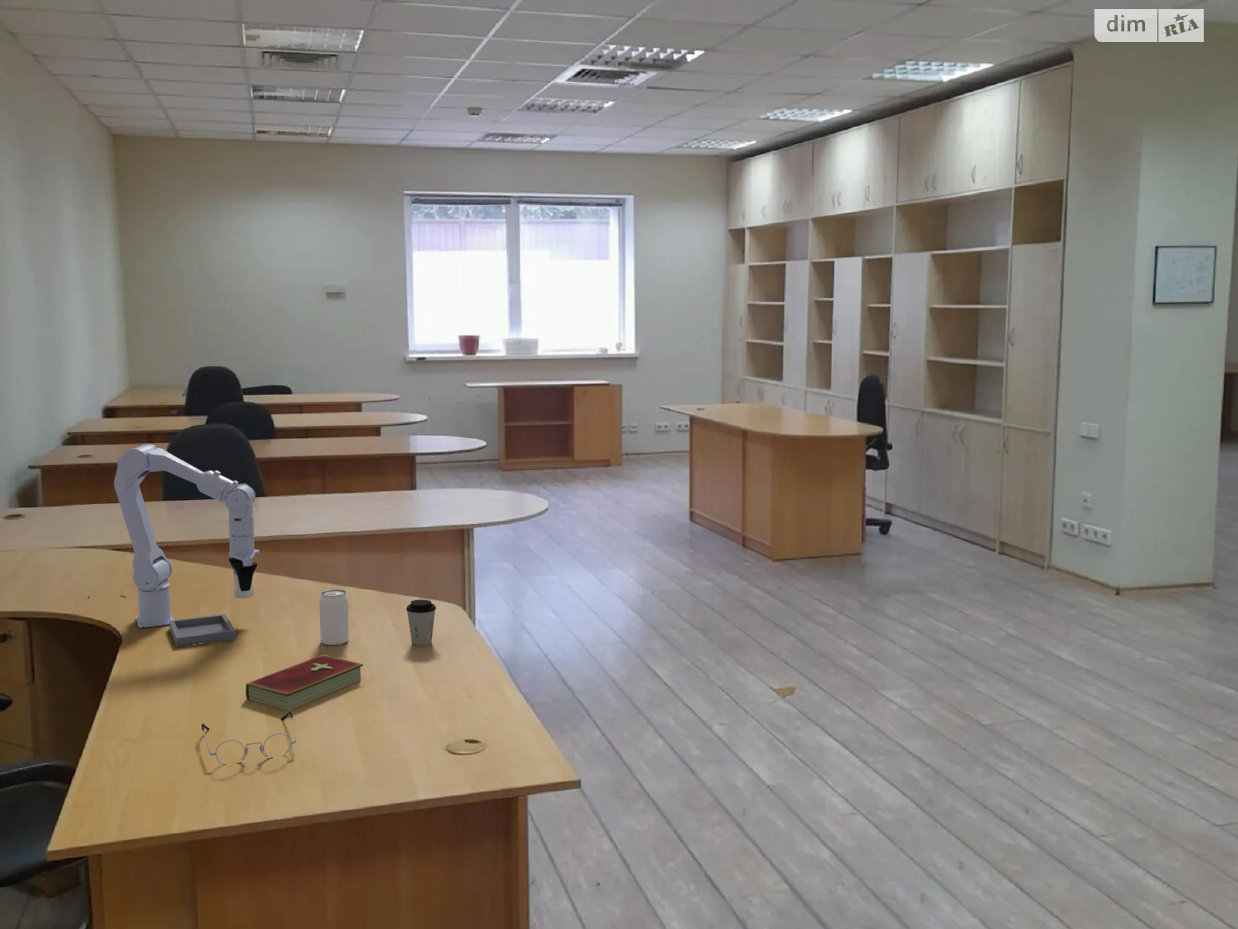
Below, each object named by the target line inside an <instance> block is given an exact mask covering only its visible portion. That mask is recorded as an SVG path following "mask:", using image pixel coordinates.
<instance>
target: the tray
mask: <svg viewBox="0 0 1238 929" xmlns="http://www.w3.org/2000/svg"><path fill="white" fill-rule="evenodd" d="M168 626H169V632H170V634H171V633H172V634H171V637H172V638H174V639H173V641H174V640H175V641H174V643H176V644H175V646H176V648H181V647H180V646H183V647H187V646H186V645H191V646H194V645H193V644H199V643H206V644H212V642H214V643H218V642H219V641H220V642H219V643H221V641H222V642H229V641H236V639H237V634H236V629H235V627H234V626H233V625H232V622H231V621H230V619H229V617H228V616H227V614H226V613H223V614H222V613H221V614H214V615H206V616H197V617H196V616H195V617H188V618H181V619H180V618H179V619H173V620H171V621H169V625H168ZM199 645H200V644H199Z"/></svg>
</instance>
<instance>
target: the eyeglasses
mask: <svg viewBox="0 0 1238 929" xmlns="http://www.w3.org/2000/svg"><path fill="white" fill-rule="evenodd" d="M288 716H289V717H290V719H291V723H292V729H293V730H292V731H293V736H294V740H291V737H289V735H288V734H286V733H284V732H277V733H272V734H271V735H269V736H267V738H266V739H265V741H264V743H263V742H262V741H258V742H252V743H246V744H245V746H244V744H243V743H242V742H240V741H238V740H236V739H227V740H224V741H223V742H221V743H219V744H218V746H217V747H216V750H215V751H211V748H210V746H209V742H208V738H207V735H206V732H205V731H208V730H209V729H210V727H208V726H207V725H205V723H201V730H202V733H203V734H204V735H203V736H204V739H205V742H206V745H207V749H208V753H209V756H215V758H216V759H217V761H218V762H219V763H220V764H222V763H223V761H221V760H220V759H219V758H218V754H217V752H218V749H219V747H220V746H221V745H222V744H225V743H227V742H235V743H238V744H240V745H241V746H242V747H243V755H242V757H241V758H240V759H239V760H243V761H244V760H245V759H246V756H247V755H248V753H249V747H248V746H251V745H257V744H259V746H258V748H259V751H260V753H262V755H263V757H265V758H266V757H269V756H270V755H268V754H267V752H266V750H265V744H266V743H267V741H268V740H269V739H270V738H271V737H273V736H276V735H283V736H286V737H287V738H288V739H289V744H290V745H289V748H288V749H287V750H286V752H285V753H284V754H285V755H287V754H288V753H289V751H290V750H291V746H292V745H293V744H296V743H297V737H296V730H295V725H294V716H293V713H292V712H291V711H288V712H287V713H286V714H285V715H284V716H282V717H281V718H280V720H281V721H282V722H283V721H285V720H286V718H287V717H288ZM205 729H206V730H205ZM209 731H210V730H209Z"/></svg>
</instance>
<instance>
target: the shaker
mask: <svg viewBox="0 0 1238 929" xmlns="http://www.w3.org/2000/svg"><path fill="white" fill-rule="evenodd" d="M232 572H233V573H232V574H233V586H234V587H233V588H234V591H233V592H234V593H233V594H234V598H237V599H248V598H251V597H254V577H253V578H252V583H251V588H250V590H249V591H241V589H240V586H239V581H238V576H237V573H236V571H235V568H232Z"/></svg>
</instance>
